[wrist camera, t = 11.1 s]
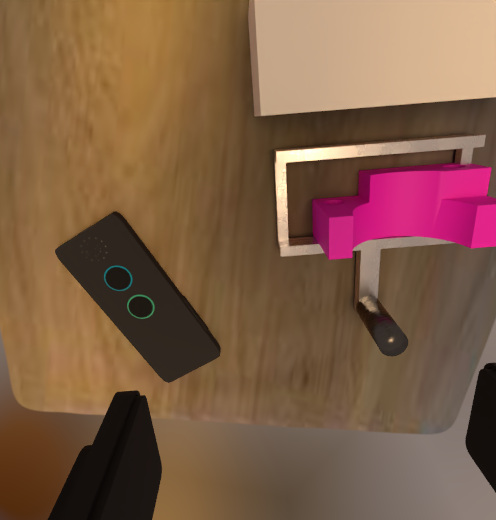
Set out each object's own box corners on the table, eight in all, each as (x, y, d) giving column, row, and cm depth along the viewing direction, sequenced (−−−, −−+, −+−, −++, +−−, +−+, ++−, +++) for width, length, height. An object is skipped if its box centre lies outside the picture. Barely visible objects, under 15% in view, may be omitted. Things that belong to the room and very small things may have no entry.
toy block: (461, 161, 36) (516, 172, 29) (453, 222, 38) (501, 245, 31) (311, 174, 36) (329, 187, 29) (312, 233, 38) (328, 259, 31)
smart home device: (114, 211, 35) (223, 355, 42) (120, 207, 37) (224, 346, 43) (50, 252, 37) (165, 385, 43) (58, 246, 38) (167, 376, 45)
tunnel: (247, 15, 31) (252, -33, 21) (503, -6, 30) (629, -64, 21) (254, 116, 34) (260, 115, 24) (487, 97, 33) (590, 89, 24)
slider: (273, 149, 34) (284, 158, 26) (468, 133, 34) (538, 138, 26) (281, 316, 41) (291, 364, 33) (444, 303, 41) (494, 348, 33)
